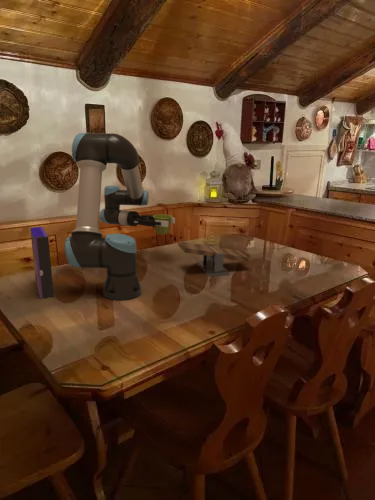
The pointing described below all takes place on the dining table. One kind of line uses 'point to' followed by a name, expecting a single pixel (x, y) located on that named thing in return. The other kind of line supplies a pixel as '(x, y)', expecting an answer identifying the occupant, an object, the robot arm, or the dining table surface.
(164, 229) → the plant pot
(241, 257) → the balance beam
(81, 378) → the dining table surface
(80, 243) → the robot arm
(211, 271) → the beam stand
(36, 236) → the cereal box
